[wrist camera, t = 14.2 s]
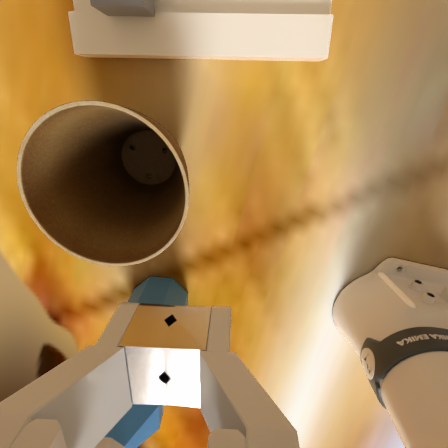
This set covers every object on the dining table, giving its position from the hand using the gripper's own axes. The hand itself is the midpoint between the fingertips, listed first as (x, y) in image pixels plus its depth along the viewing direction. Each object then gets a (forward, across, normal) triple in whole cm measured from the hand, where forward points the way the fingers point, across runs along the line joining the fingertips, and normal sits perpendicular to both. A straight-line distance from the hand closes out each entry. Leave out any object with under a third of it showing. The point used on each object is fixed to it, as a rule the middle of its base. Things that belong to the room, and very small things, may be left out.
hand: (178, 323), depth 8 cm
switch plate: (+34, +3, -16) cm, 38 cm away
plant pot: (+34, +10, +2) cm, 36 cm away
